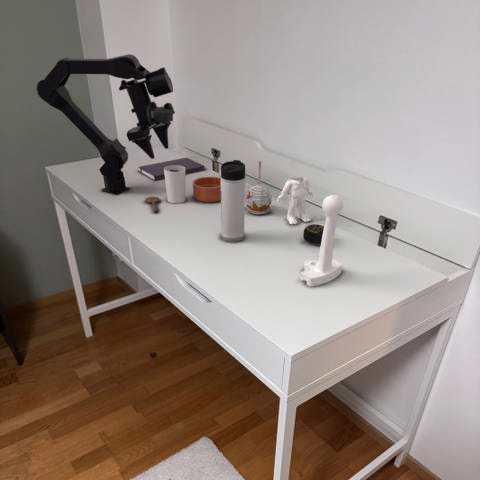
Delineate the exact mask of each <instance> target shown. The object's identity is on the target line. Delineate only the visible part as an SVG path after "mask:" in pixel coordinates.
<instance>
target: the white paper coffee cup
mask: <svg viewBox="0 0 480 480" xmlns="http://www.w3.org/2000/svg"><path fill="white" fill-rule="evenodd" d="M164 174H165V178H164V179H165V180H164V181H165V191H166V198H167V202H168V203H171V204H181V203H184V202H186V174H185V167H183V166H178V165H172V166H167V167H165V168H164Z"/></svg>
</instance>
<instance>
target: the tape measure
mask: <svg viewBox="0 0 480 480" xmlns="http://www.w3.org/2000/svg"><path fill="white" fill-rule="evenodd" d="M323 231H324V225H322V224H316V223H311V224H307V225H306V226H305V227H304V228H303V233H302V236H303V240H304V241H305V242H307V243H309V244H312V245H313V244H314V245H320V246H321V242H322V236H323Z"/></svg>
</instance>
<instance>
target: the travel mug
mask: <svg viewBox="0 0 480 480" xmlns="http://www.w3.org/2000/svg"><path fill="white" fill-rule="evenodd" d="M220 178H221V200H220V237H221V239H222V240H223V241H225V242H229V243H237V242H240V241H243V240H244V238H245V216H246V215H245V214H246V213H245V212H246V209H245V207H246V204H245V203H246V201H245V197H246V164H245V163H243V162H242V161H241V160H239V159H233V160H230V161H226V162H224V163H222V164H221V165H220Z"/></svg>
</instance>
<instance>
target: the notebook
mask: <svg viewBox="0 0 480 480" xmlns="http://www.w3.org/2000/svg"><path fill="white" fill-rule="evenodd" d="M172 165H178V166H183V167H185V175H187V174H191V173H195V172H197V173H198V172H200V171H205V167H206V166H205V165H204V164H201V163H200V162H198V161H195V160H193V159H191V158H188V157H182V158H177V159H172V160H171V159H170V160H167V161H161V162H156V163H150V164H145V165H141V166H138V172H139V173H140V174H143V175H144V176H146V177H148V178H149V179H151V180H153V181H158V180H164V179H165V174H164V168H165V167H167V166H172Z"/></svg>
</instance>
